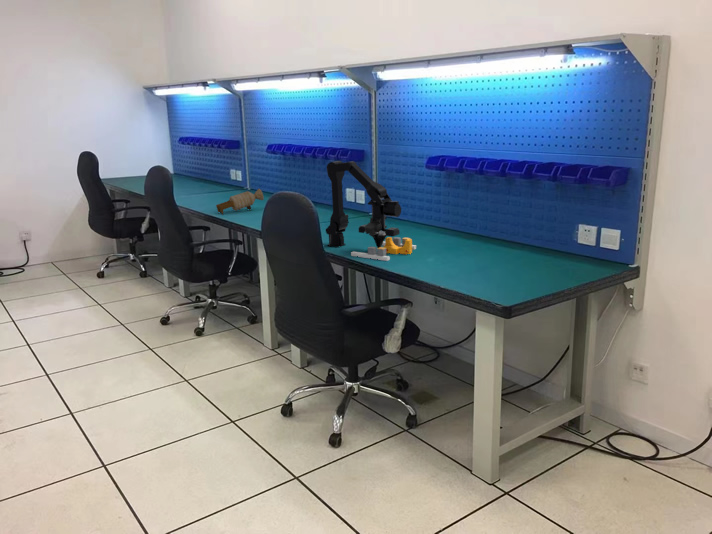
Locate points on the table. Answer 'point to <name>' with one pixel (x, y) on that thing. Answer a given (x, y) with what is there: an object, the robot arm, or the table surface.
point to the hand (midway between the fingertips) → (379, 248)
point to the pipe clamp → (395, 249)
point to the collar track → (381, 250)
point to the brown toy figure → (241, 201)
